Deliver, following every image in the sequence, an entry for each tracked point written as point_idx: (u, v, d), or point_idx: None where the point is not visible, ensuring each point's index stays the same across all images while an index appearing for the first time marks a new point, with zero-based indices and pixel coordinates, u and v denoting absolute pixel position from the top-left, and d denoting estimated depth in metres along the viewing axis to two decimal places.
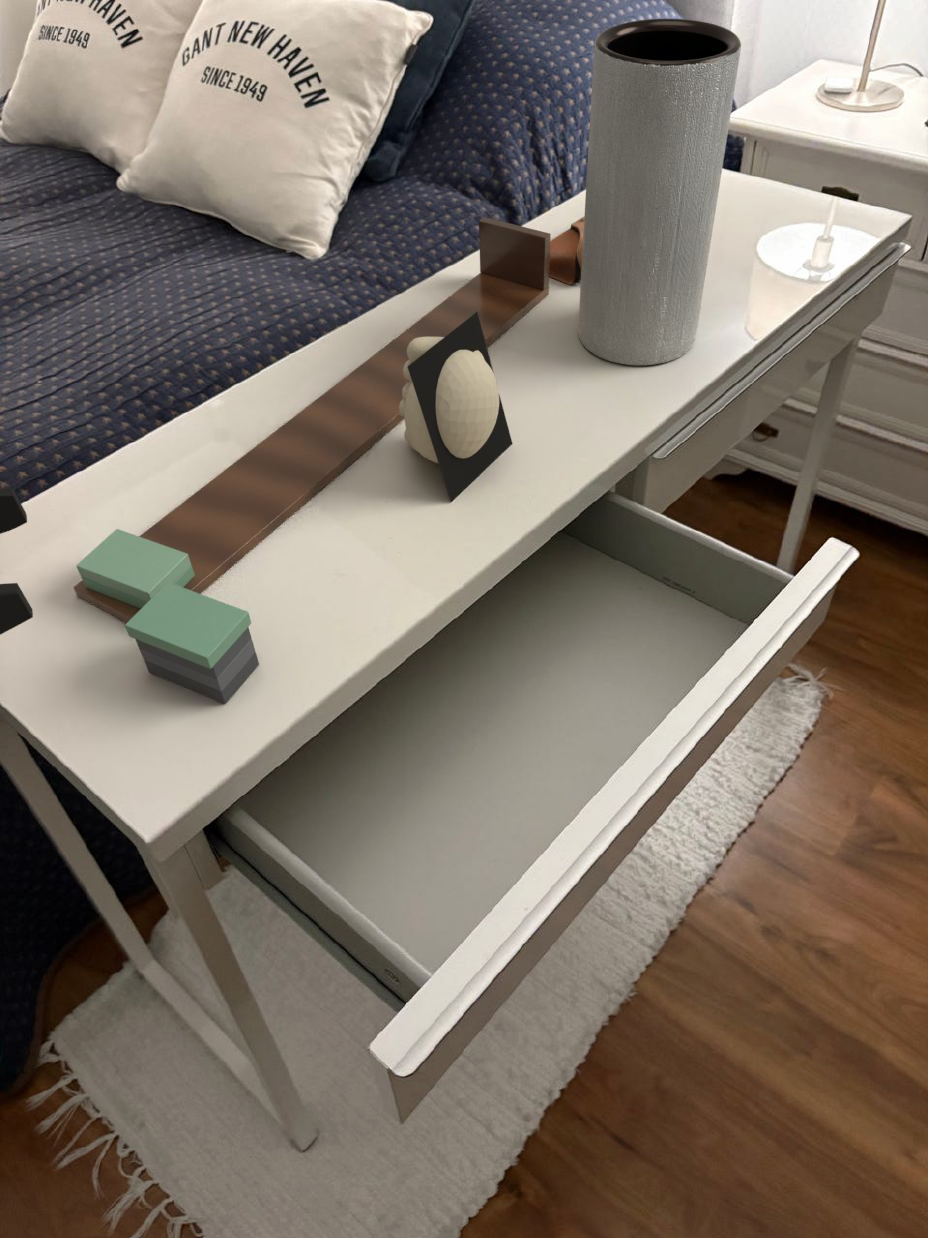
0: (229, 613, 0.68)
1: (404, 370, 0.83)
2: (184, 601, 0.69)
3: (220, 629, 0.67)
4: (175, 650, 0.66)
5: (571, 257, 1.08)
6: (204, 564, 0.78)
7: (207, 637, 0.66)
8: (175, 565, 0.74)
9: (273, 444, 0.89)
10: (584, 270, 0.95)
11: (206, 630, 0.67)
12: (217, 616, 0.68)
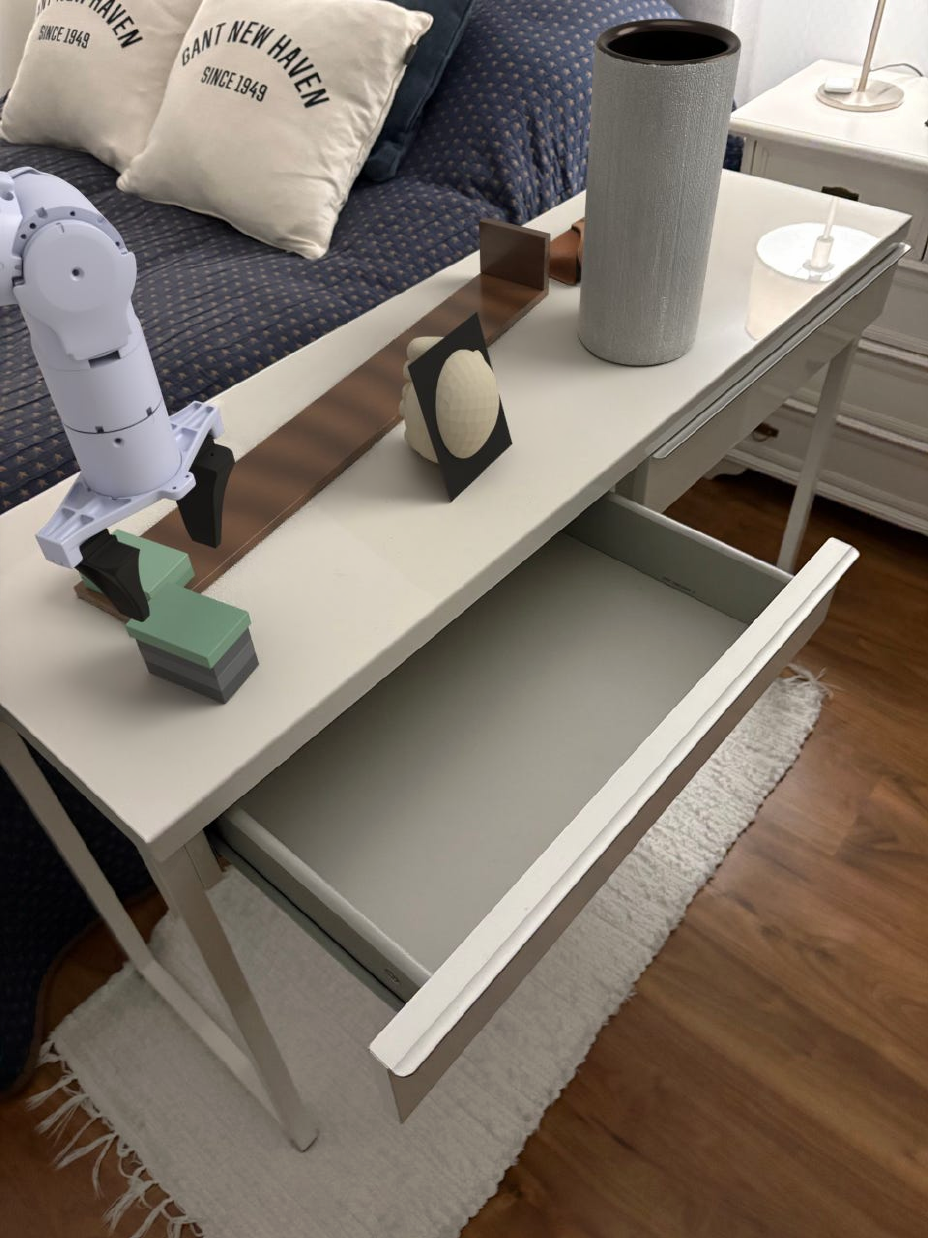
0: (229, 613, 0.68)
1: (404, 370, 0.83)
2: (184, 601, 0.69)
3: (220, 629, 0.67)
4: (175, 650, 0.66)
5: (572, 257, 1.08)
6: (204, 564, 0.78)
7: (207, 637, 0.66)
8: (175, 565, 0.74)
9: (273, 444, 0.89)
10: (584, 270, 0.95)
11: (206, 630, 0.67)
12: (217, 616, 0.68)
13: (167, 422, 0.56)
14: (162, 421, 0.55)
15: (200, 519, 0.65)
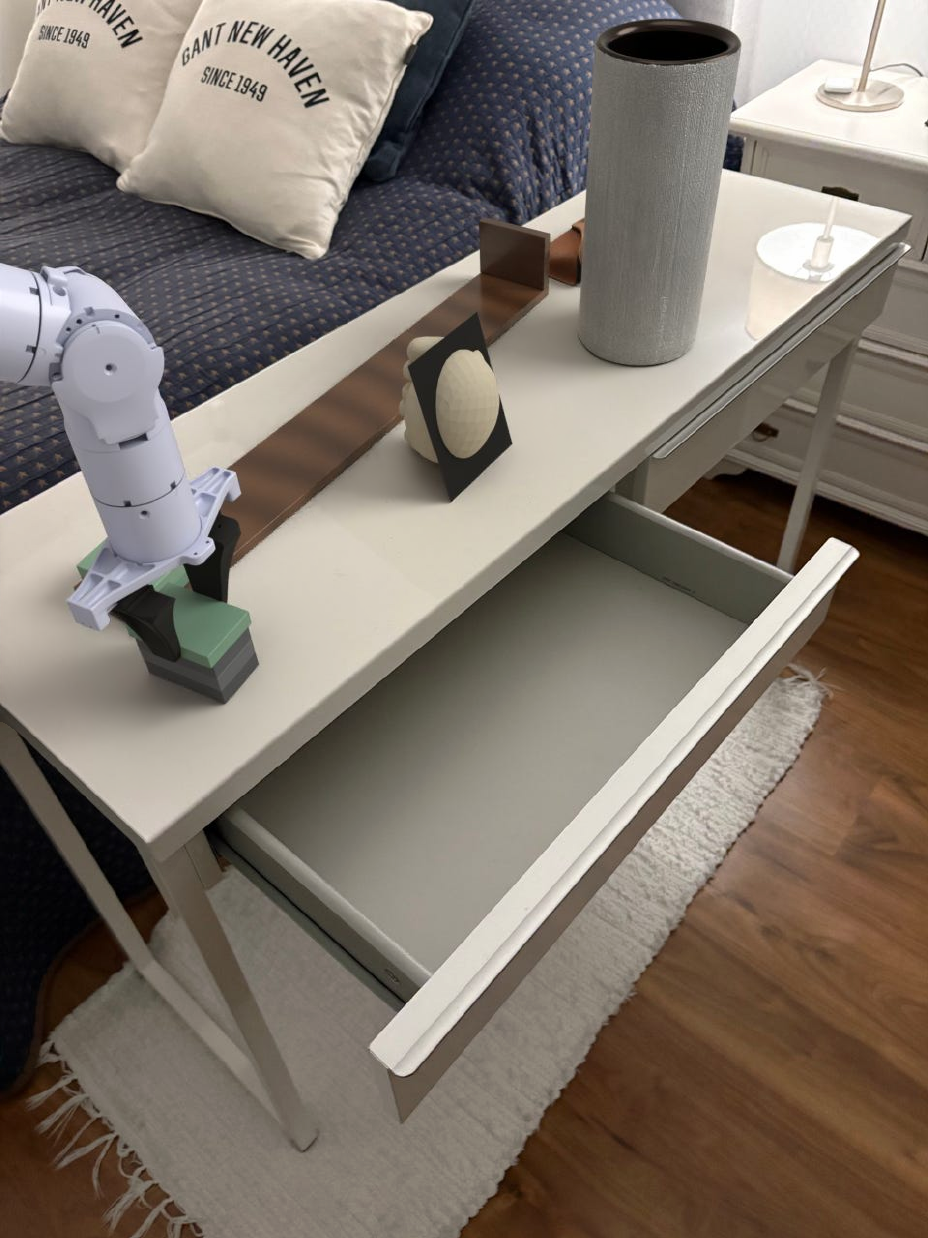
0: (229, 613, 0.68)
1: (404, 370, 0.83)
2: (184, 600, 0.69)
3: (220, 628, 0.67)
4: None
5: (573, 258, 1.08)
6: None
7: (207, 637, 0.66)
8: None
9: (273, 444, 0.89)
10: (584, 270, 0.95)
11: (206, 630, 0.67)
12: (217, 616, 0.68)
13: (189, 493, 0.59)
14: (185, 492, 0.59)
15: (208, 584, 0.68)
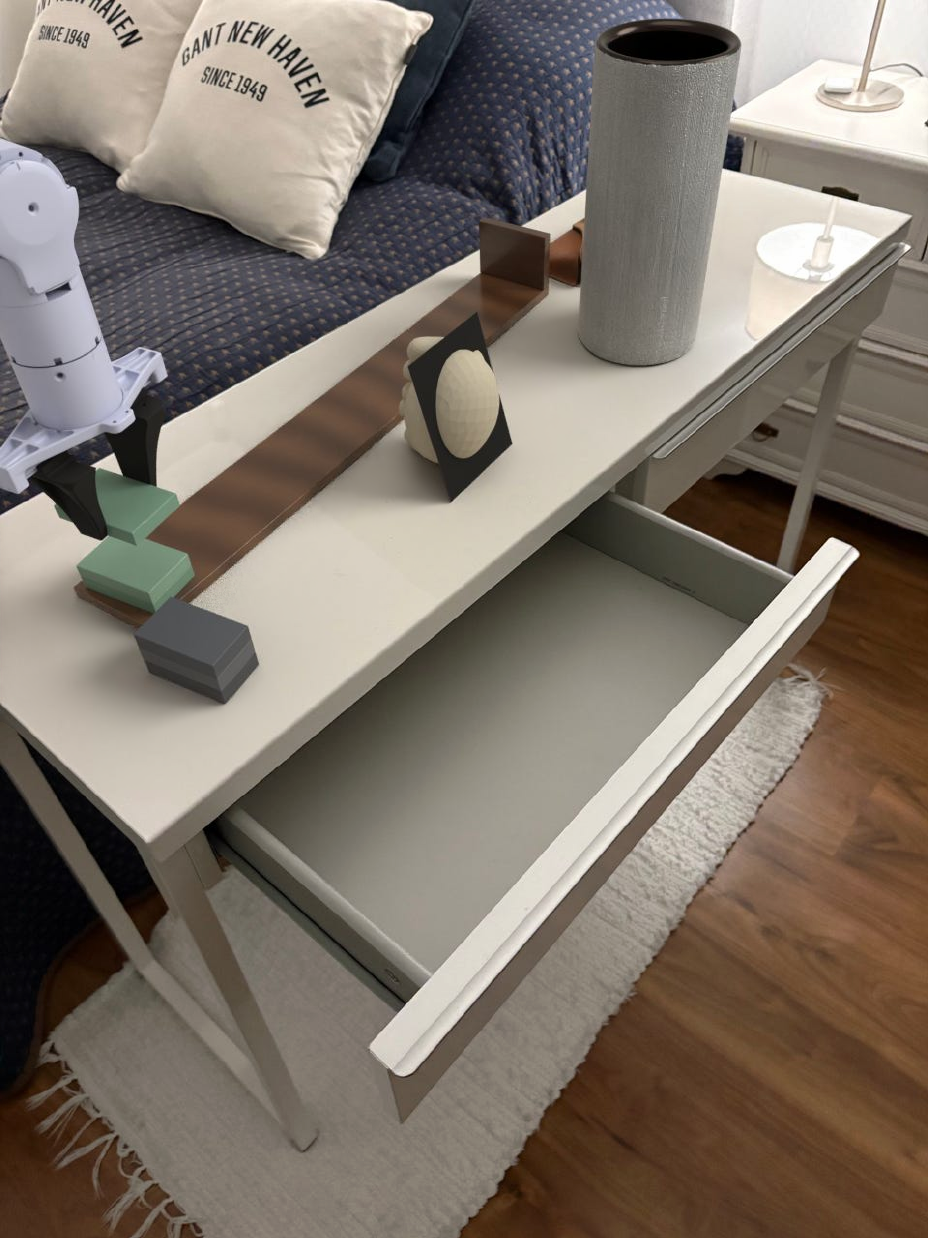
0: (157, 494, 0.69)
1: (404, 370, 0.83)
2: (114, 484, 0.70)
3: (147, 508, 0.68)
4: None
5: (574, 258, 1.08)
6: (204, 564, 0.78)
7: (133, 515, 0.67)
8: (175, 565, 0.74)
9: (273, 444, 0.89)
10: (584, 270, 0.95)
11: (133, 509, 0.68)
12: (145, 497, 0.69)
13: (107, 360, 0.61)
14: (102, 358, 0.60)
15: (136, 467, 0.69)
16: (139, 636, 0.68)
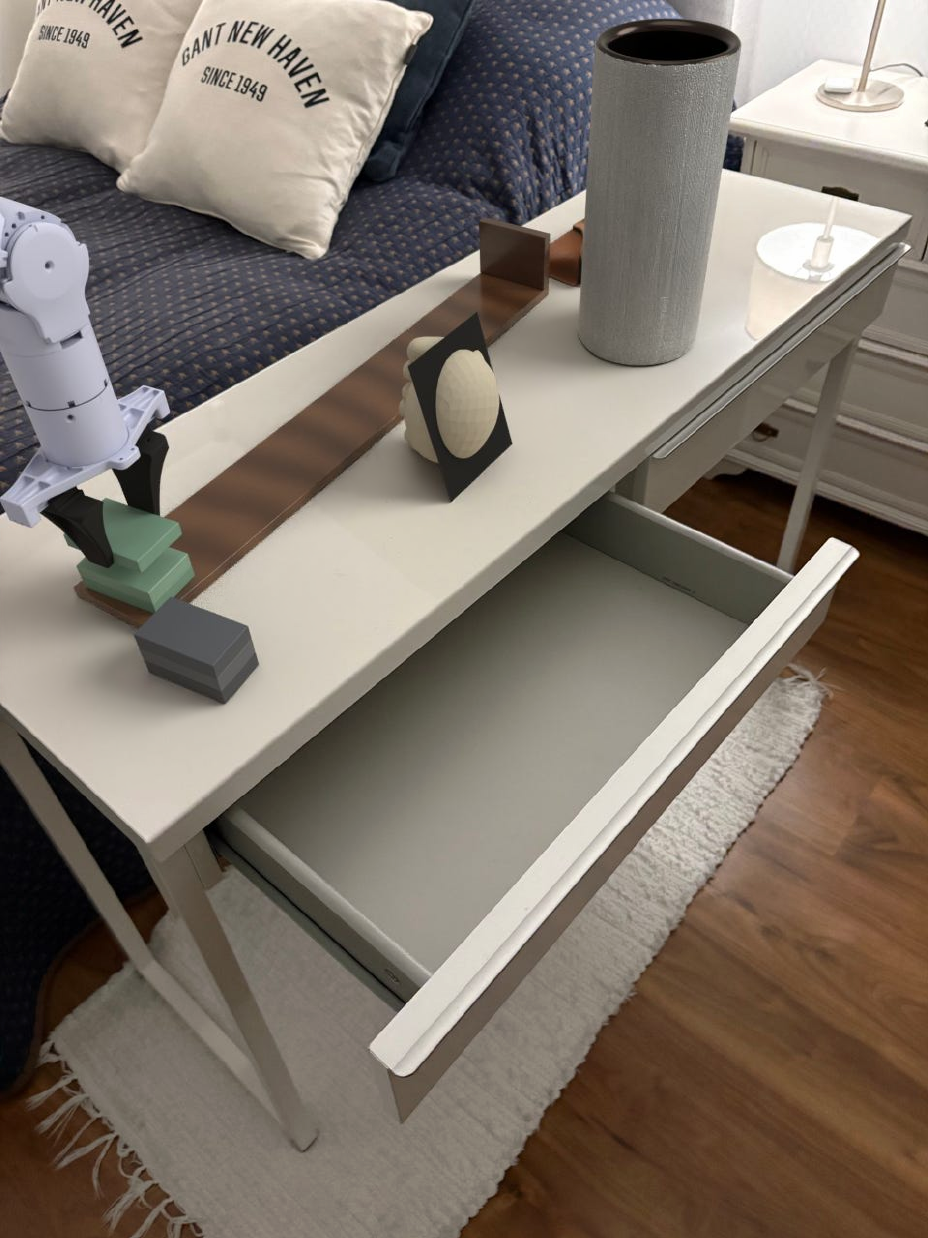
0: (160, 523, 0.73)
1: (404, 370, 0.83)
2: (119, 513, 0.74)
3: (151, 537, 0.72)
4: None
5: (574, 258, 1.08)
6: (204, 564, 0.78)
7: (138, 544, 0.71)
8: (175, 565, 0.74)
9: (273, 444, 0.89)
10: (584, 270, 0.95)
11: (138, 538, 0.72)
12: (149, 526, 0.73)
13: (114, 402, 0.65)
14: (109, 400, 0.64)
15: (140, 498, 0.73)
16: (139, 636, 0.68)
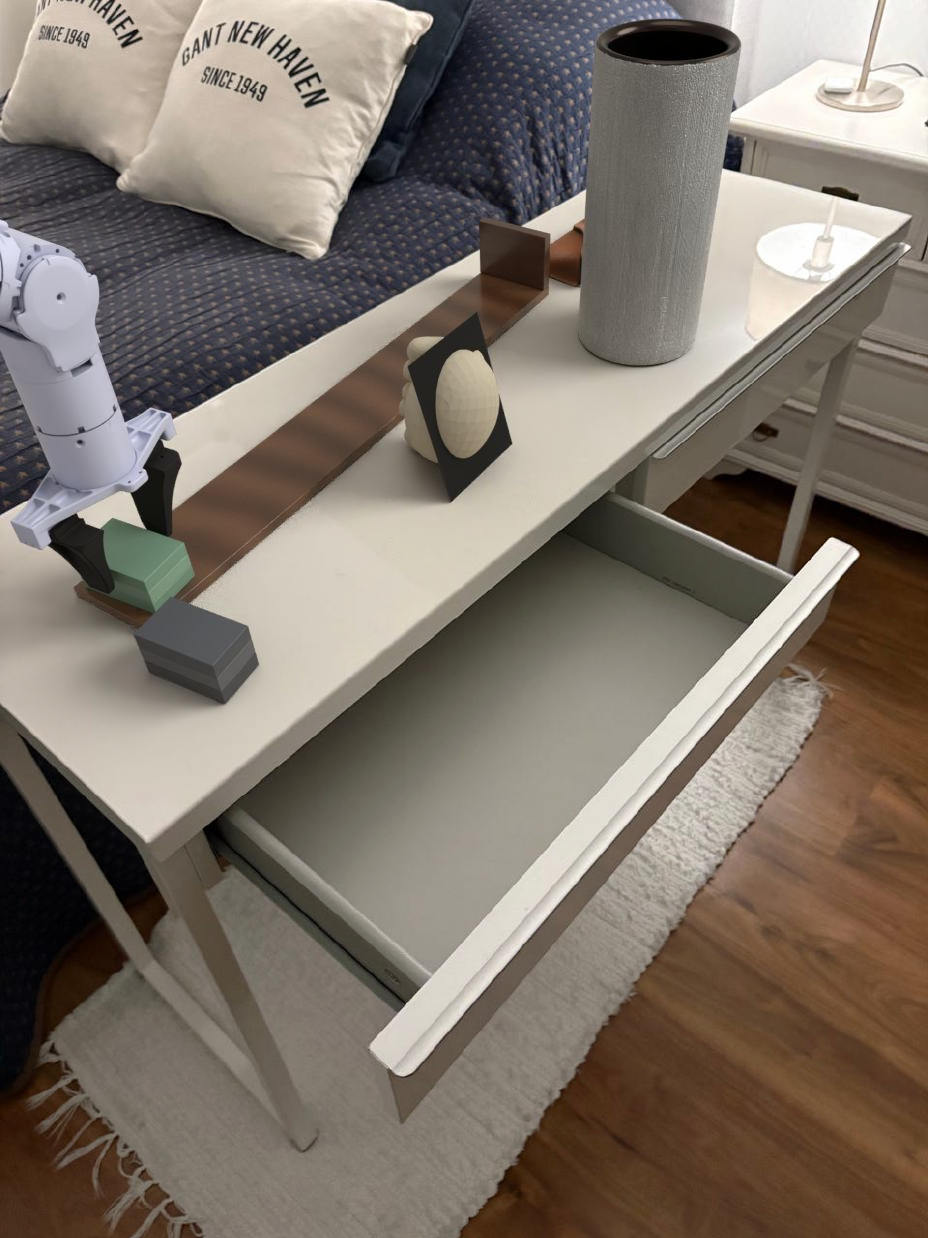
0: (166, 544, 0.74)
1: (404, 370, 0.83)
2: (126, 533, 0.75)
3: (157, 557, 0.73)
4: (116, 576, 0.73)
5: (575, 258, 1.08)
6: (204, 564, 0.78)
7: (145, 564, 0.73)
8: None
9: (273, 444, 0.89)
10: (584, 270, 0.95)
11: (144, 558, 0.73)
12: (155, 546, 0.74)
13: (122, 426, 0.66)
14: (118, 425, 0.65)
15: (153, 512, 0.75)
16: (139, 636, 0.68)
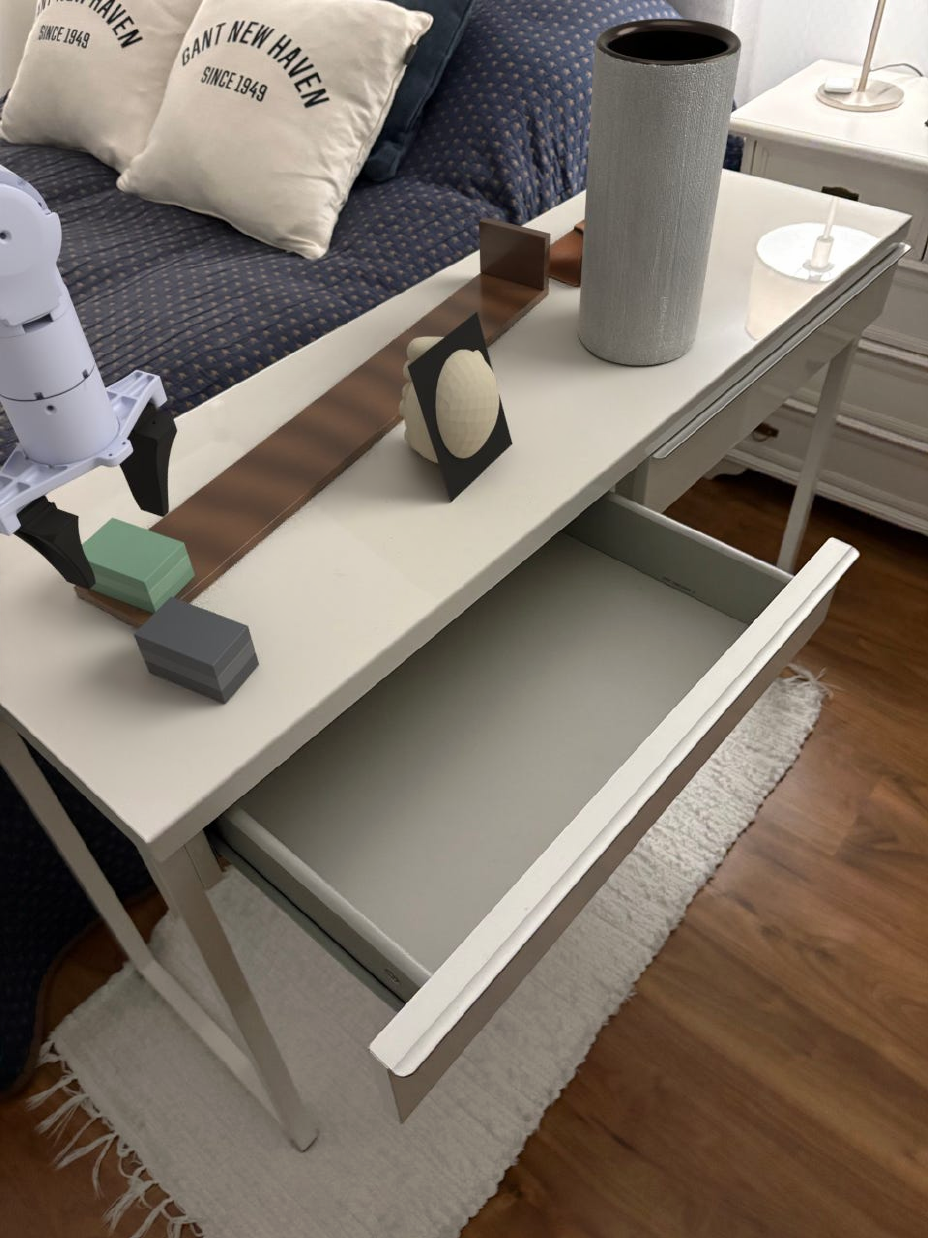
0: (166, 544, 0.74)
1: (404, 370, 0.83)
2: (126, 533, 0.75)
3: (157, 557, 0.73)
4: (116, 576, 0.73)
5: (576, 259, 1.08)
6: (204, 564, 0.78)
7: (145, 564, 0.73)
8: None
9: (273, 444, 0.89)
10: (584, 270, 0.95)
11: (144, 558, 0.73)
12: (155, 546, 0.74)
13: (101, 389, 0.56)
14: (95, 388, 0.56)
15: (147, 487, 0.66)
16: (139, 636, 0.68)
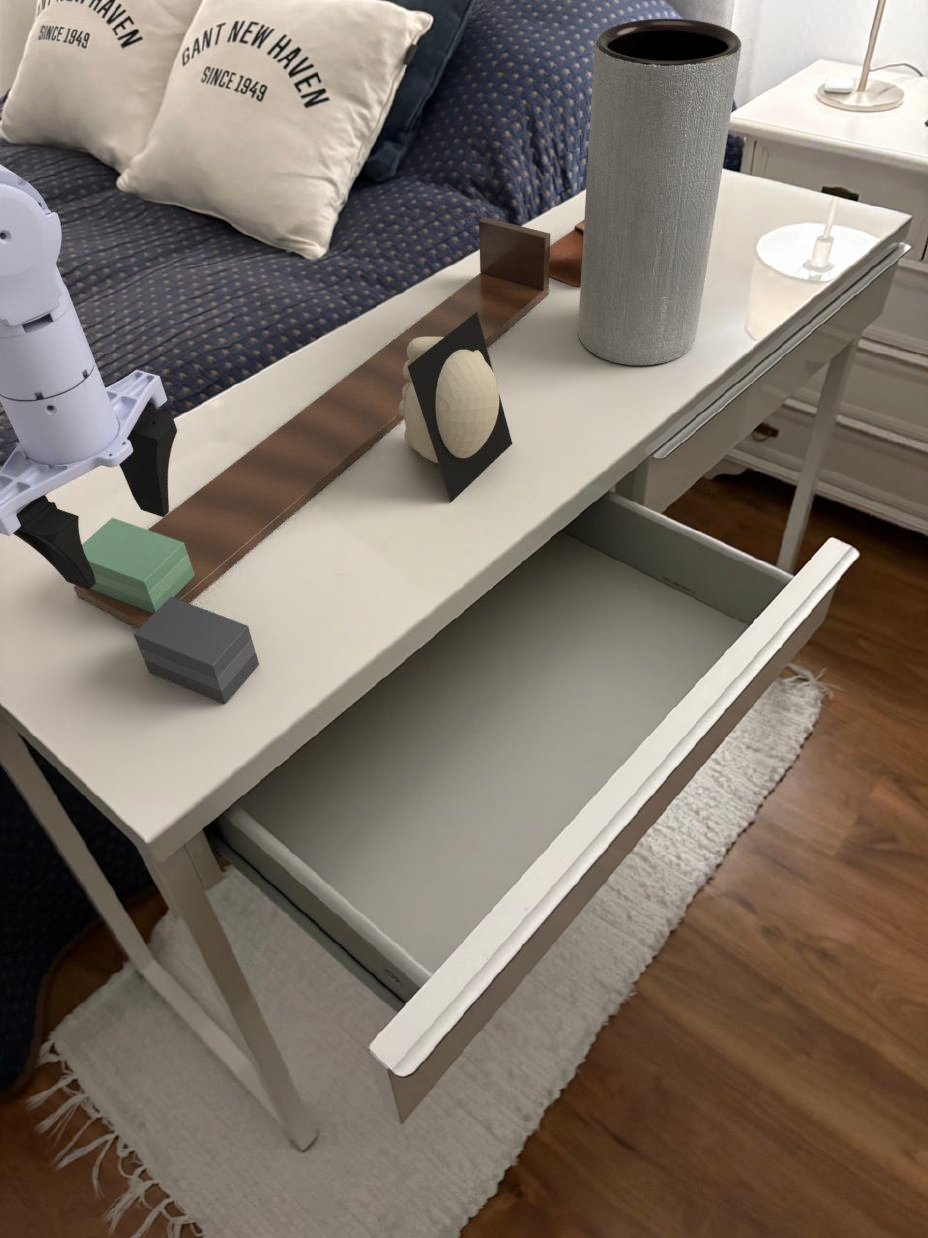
0: (166, 544, 0.74)
1: (404, 370, 0.83)
2: (126, 533, 0.75)
3: (157, 557, 0.73)
4: (116, 576, 0.73)
5: (577, 259, 1.07)
6: (204, 564, 0.78)
7: (145, 564, 0.73)
8: None
9: (273, 444, 0.89)
10: (584, 270, 0.95)
11: (144, 558, 0.73)
12: (155, 546, 0.74)
13: (101, 389, 0.56)
14: (95, 388, 0.56)
15: (147, 487, 0.66)
16: (139, 636, 0.68)
